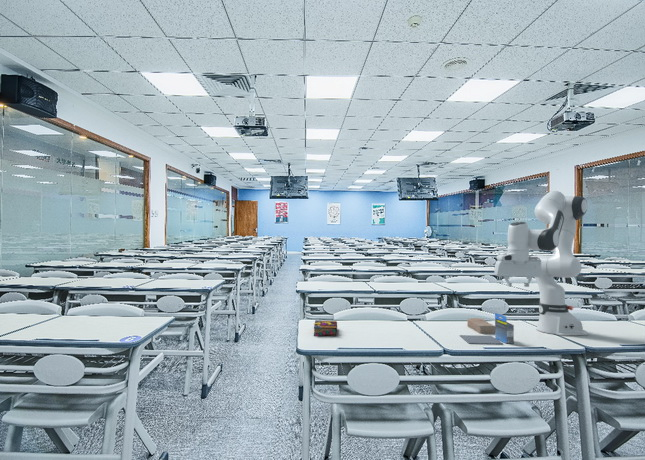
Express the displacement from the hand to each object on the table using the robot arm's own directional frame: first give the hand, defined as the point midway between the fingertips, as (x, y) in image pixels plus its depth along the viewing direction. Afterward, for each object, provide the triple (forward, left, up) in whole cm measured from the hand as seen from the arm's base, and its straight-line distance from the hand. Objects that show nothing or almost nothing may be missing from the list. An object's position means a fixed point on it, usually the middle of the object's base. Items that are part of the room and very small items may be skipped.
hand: (518, 286), depth 171 cm
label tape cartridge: (+6, 0, -26) cm, 26 cm away
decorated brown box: (+89, -9, -26) cm, 94 cm away
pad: (+17, 0, -25) cm, 30 cm away
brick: (+9, -21, -26) cm, 34 cm away
